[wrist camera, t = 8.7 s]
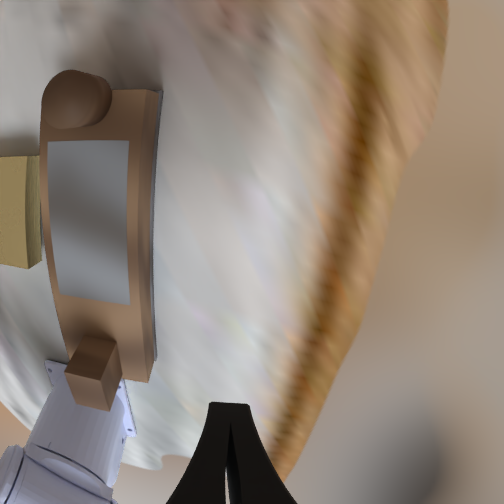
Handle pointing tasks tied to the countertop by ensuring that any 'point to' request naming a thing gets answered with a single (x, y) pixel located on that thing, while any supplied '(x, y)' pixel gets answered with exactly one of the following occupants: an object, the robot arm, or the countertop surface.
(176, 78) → the countertop surface
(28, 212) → the lever cap
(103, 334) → the body
